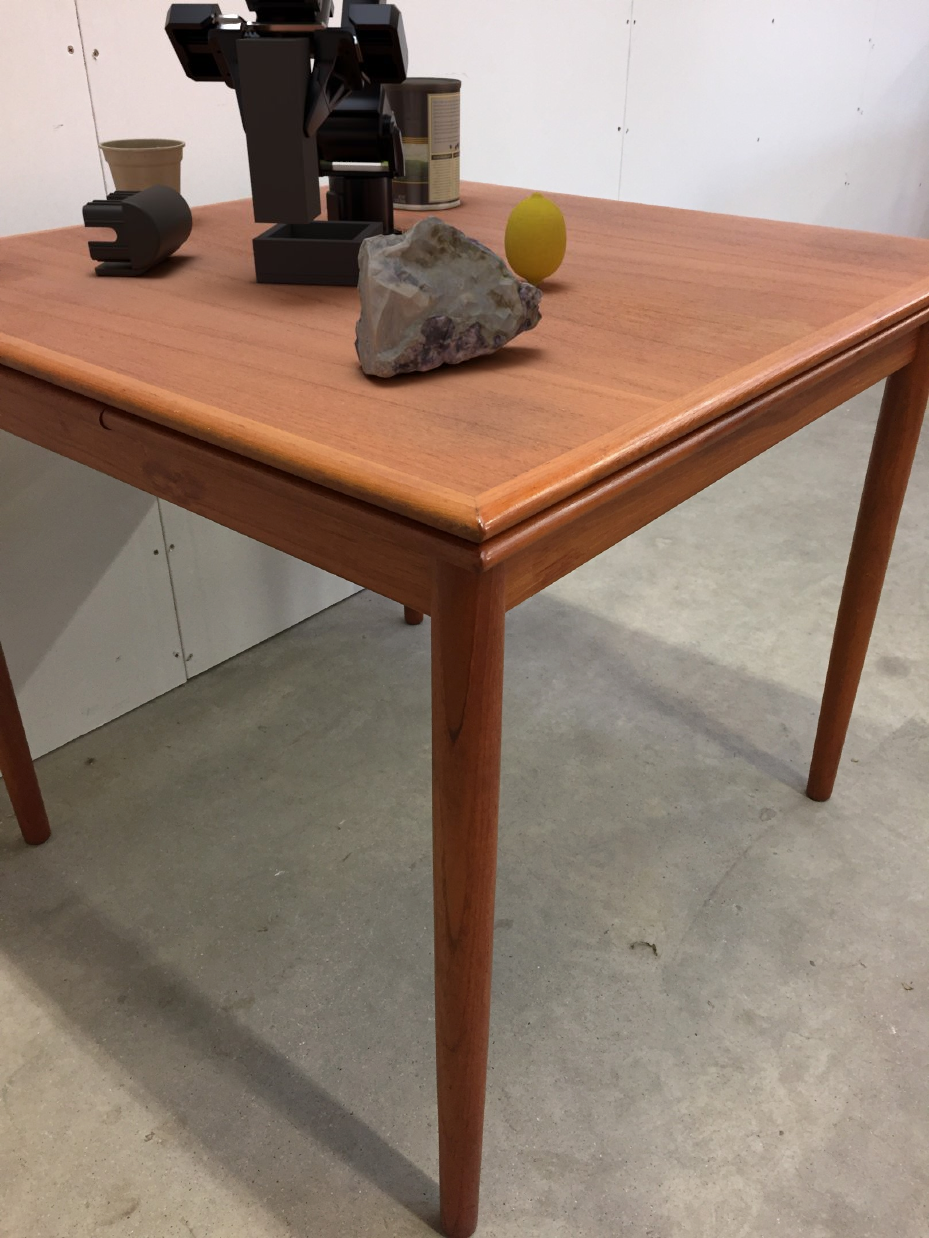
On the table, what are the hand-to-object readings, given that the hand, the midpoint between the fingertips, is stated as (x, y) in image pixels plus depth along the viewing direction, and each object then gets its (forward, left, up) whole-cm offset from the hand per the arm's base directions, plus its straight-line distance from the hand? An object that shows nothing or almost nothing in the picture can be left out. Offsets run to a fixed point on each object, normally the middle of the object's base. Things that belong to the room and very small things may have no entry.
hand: (276, 133), depth 79 cm
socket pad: (-8, -9, -13) cm, 18 cm away
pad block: (-1, -1, -7) cm, 7 cm away
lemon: (-21, +8, -13) cm, 26 cm away
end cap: (+4, -21, -13) cm, 26 cm away
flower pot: (-5, -41, -13) cm, 44 cm away
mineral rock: (-1, +22, -13) cm, 25 cm away
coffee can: (-38, -34, -13) cm, 53 cm away
